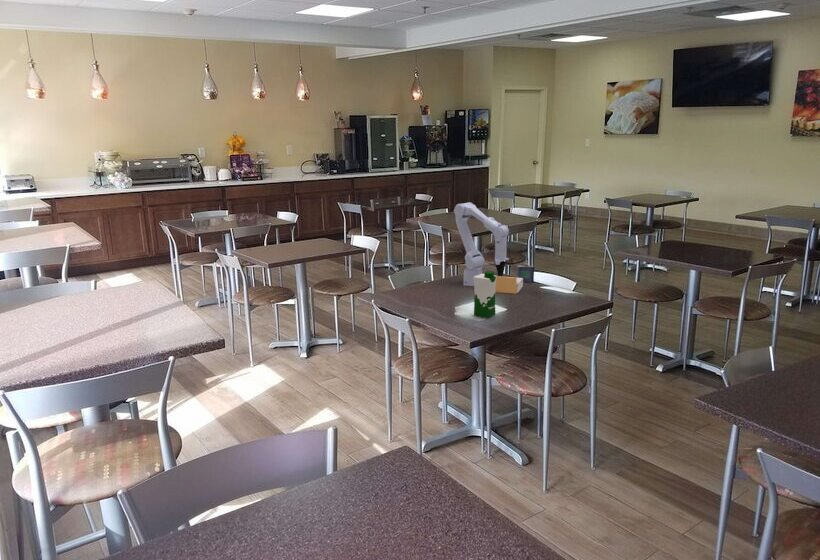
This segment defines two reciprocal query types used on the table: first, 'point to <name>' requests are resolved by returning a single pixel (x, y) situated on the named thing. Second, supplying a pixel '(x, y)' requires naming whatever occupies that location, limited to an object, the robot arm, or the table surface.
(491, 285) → the milk carton
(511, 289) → the door
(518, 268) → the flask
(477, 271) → the robot arm
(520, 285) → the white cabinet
